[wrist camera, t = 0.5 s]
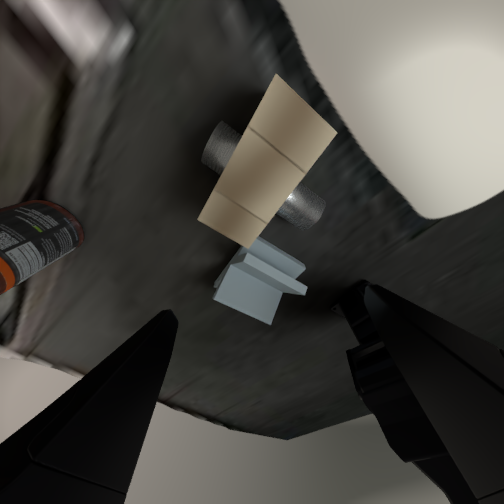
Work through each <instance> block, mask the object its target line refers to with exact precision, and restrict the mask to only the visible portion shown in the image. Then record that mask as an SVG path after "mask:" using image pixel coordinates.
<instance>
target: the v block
mask: <svg viewBox="0 0 504 504" xmlns="http://www.w3.org/2000/svg"><path fill="white" fill-rule="evenodd" d="M305 269H306V267H305V265H304V264H303V263H302V262H300V261H298V260H297V259H295V258H293V257H292V256H290V255H289V254H287V253H285V252H284V251H282V250H280V249H279V248H277V247H276V246H274V245H272V244H271V243H269V242H267V241H266V240H264V239H263V238H261V237H259V236H258V237H257V238H256V240H255V241H254V242H253V243H252V245H251V246H250V247H249V249H247V248H245V247H244V246H241V247H240V248H239V250H238V251H237V252H236V254H235V255H234V256H233V258H232V259H231V261H230V262H229V263H228V265H227V266H226V267H225V269H224V270H223V271H222V273H221V274H220V275H219V277H218V278H217V280H216V281H215V283H214V287H215V288H217V289H216V291H215V293H214V295H213V297H212V299H214V300H216V301H218V302H220V303H223V304H225V305H227V306H229V307H232V308H234V309H236V310H238V311H240V312H243V313H245V314H247V315H249V316H251V317H254V318H256V319H258V320H260V321H263V322H265V323H267V324H269V325H271V323H272V320H273V318H274V315H275V312H276V310H277V307H278V304H279V302H280V299H281V296H282V294H283V292H284V293H291V294H299V295H305V293H306V290H307V286H305V285H303V284H302V283H300V282H298V281H296V280H295V279H296V278H297V277H298V276H299V275H300V274H301V273H302V272H303V271H304V270H305Z"/></svg>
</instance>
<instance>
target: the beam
mask: <svg viewBox="0 0 504 504" xmlns="http://www.w3.org/2000/svg"><path fill="white" fill-rule="evenodd" d="M336 134H337V132H336V131H335V130H334V129H333V128H332V127H331V126H330V125H329V124H328V123H327V122H326V121H325V120H324V119H323V118H322V117H321V116H320V115H319V114H318V113H316V112H315V111H314V110H313V109H312V108H311V107H310V106H309V105H308V104H307V103H306V102H305V101H304V100H303V99H302V98H301V97H300V96H299V95H298V94H297V93H296V92H295V91H294V90H293V89H292V88H291V87H290V86H289V85H288V84H286V83H285V82H284V81H283V80H282V79H281V78H280V77H279V76H278V75H277V74H276V75H275V76H274V78H273V80H272V82H271V84H270V86H269V88H268V89H267V91H266V93H265V95H264V97H263V99H262V101H261V102H260V104H259V106H258V108H257V110H256V112H255V114H254V115H253V117H252V119H251V121H250V123H249V125H248V126H247V128H246V130H245V132H244V134H243V136H242V138H241V139H240V141H239V143H238V145H237V147H236V149H235V151H234V152H233V154H232V156H231V158H230V160H229V162H228V164H227V165H226V167H225V169H224V171H223V173H222V175H221V177H220V178H219V180H218V182H217V184H216V186H215V188H214V190H213V191H212V193H211V195H210V197H209V199H208V201H207V203H206V204H205V206H204V208H203V210H202V212H201V214H200V216H199V217H198V219H197V220H199V221H200V222H202V223H204V224H206V225H207V226H209V227H211V228H213V229H214V230H216V231H218V232H220V233H221V234H223V235H225V236H226V237H228V238H230V239H232V240H233V241H235V242H237V243H239V244H240V245H242V246H244V247H245V248H247V249H249V247H250V246H251V245H252V243H253V242H254V241H255V240H256V238H257V237H258V236H259V234H260V233H261V232H262V230H263V229H264V228H265V227H266V225H267V224H268V223H269V221H270V220H271V219H272V217H273V216H274V215H275V214H276V212H277V211H278V210H279V208H280V207H281V206H282V204H283V203H284V202H285V200H286V199H287V198H288V197H289V195H290V194H291V193H292V191H293V190H294V189H295V187H296V186H297V185H298V184H299V182H300V181H301V180H302V178H303V177H304V176H305V174H306V173H307V172H308V171H309V169H310V168H311V167H312V165H313V164H314V163H315V161H316V160H317V159H318V158H319V156H320V155H321V154H322V152H323V151H324V150H325V148H326V147H327V146H328V145H329V143H330V142H331V141H332V139H333V138H334V137H335V135H336Z"/></svg>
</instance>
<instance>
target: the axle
mask: <svg viewBox="0 0 504 504" xmlns="http://www.w3.org/2000/svg"><path fill="white" fill-rule="evenodd" d="M241 138H242V136H241V135H240V134H239V133H238V132H236V131H235V130H234V129H232V128H231V127H230V126H229V125H227V124H226V123H225V122H224V121H220V122H219V123H218V125H217V126H216V128H215V129H214V131H213V132H212V134H211V136H210V138H209V140H208V142H207V144H206V147H205V149H204V152H203V155H202V159H201V162H202V163H203V164H205V165H206V166H208V167H209V168H211V169H212V170H214V171H215V172H216V173H218V174H219V175H222V173H223V171H224V169H225V167H226V165H227V164H228V162H229V160H230V158H231V156H232V154H233V152H234V151H235V149H236V147H237V145H238V143H239V141H240V139H241ZM325 205H326V204H325V201H324V200H323V199H322V198H320V197H319V196H318V195H316V194H315V193H314V192H313V191H311V190H310V189H309V188H308V187H306V186H305V185H304V184H302V183H301V182H299V184H298V185H297V186H296V187H295V189H294V190H293V191H292V193H291V194H290V195H289V197H288V198H287V199H286V200H285V202H284V203H283V204H282V206H281V207H280V208H279V210H278V211H277V212H276V213H277V214H278V215H279V216H281V217H282V218H284V219H285V220H287V221H288V222H290V223H291V224H293V225H294V226H296V227H297V228H298V229H300V230H306V229H308V228H310V227H311V226H313V225H314V224H315V223H316V222H317V221H318V219H319V218H320V217H321V215H322V214H323V212H324V209H325Z"/></svg>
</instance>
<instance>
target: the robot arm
mask: <svg viewBox="0 0 504 504" xmlns="http://www.w3.org/2000/svg"><path fill="white" fill-rule="evenodd" d="M330 309H331V310H332V311H333V312H335V313H337V314H339V315H340V316H342V317H344V318H346V320H347V321H348V323H349V325H350V327H351V329H352V331H353V333H354V335H355V337H356V338H357V340H358V342H359V344H360V345H359V346H357V347H355V348H353V349H349V350H347V351H346V353H347V357H348V358H347V359H348V362H349V366H350V370H351V373H352V377H353V380H354V384H355V388H356V391H357V392H358V396H359V397H360V399H361V400H363V402H364V403H365V405H366V406H367V408H368V409H369V410H370V411H371V412H372V413H373V414H374V415H375V416H376V418H377V420H378V422H379V424H380V427H381V429H382V431H383V433H384V435H385V437H386V439H387V441H388V444H389V446H390V447H391V448H392V449H393V450H394V452H395V453H396V454H397V455H398V456H399V457H400V458H401V459H402V460H403V461H404V462H405V463H407V462H412V463H413V464H414V465H416V466H417V467H418V468H419V469H420V470H421V471H422V472H423V473H424V474H425V475H426V476H427V477H428V478H429V479H430V480H431V481H432V482H433V483H435V484H436V485H437V486H438V487H439V488H440V489H441V490H442V491H443V492H444V493H445V495H446V497H447V498H448V500H449V502H450V503H451V504H504V350H502V349H499V348H498V347H496V346H495V345H493V344H491V343H489V342H487V341H485V340H483V339H481V338H479V337H477V336H475V335H473V334H472V333H470V332H468V331H466V330H464V329H462V328H460V327H458V326H456V325H454V324H452V323H450V322H449V321H447V320H445V319H443V318H441V317H439V316H437V315H435V314H433V313H431V312H429V311H427V310H426V309H424V308H422V307H420V306H418V305H416V304H414V303H412V302H410V301H408V300H406V299H405V298H403V297H401V296H399V295H397V294H395V293H393V292H391V291H389V290H387V289H385V288H383V287H382V286H380V285H376V284H375V285H373V284H371V283H370V282H368V281H363V282H361V283H360V284H358V285H357V286H356V287H355V288H353V289H352V290H351V291H349V292H348V293H347V294H345V295H344V296H343V297H341V298H340V299H339V300H338V301H336V302H335V303H334V304H332V305H331V306H330ZM177 328H178V320H177V318H176V316H175V314H174V313H173V311H172V310H170V309H169V310H162V311H161V312H160V313H158V314H157V315H156V316H155V317H154V318H153V319H151V320H150V321H149V322H148V323H147V324H145V325H144V326H143V327H142V328H141V329H139V330H138V331H137V332H136V333H135V334H134V335H132V336H131V337H130V338H129V339H128V340H126V341H125V342H124V343H123V344H122V345H121V346H119V347H118V348H117V349H116V350H115V351H113V352H112V353H111V354H110V355H109V356H108V357H106V358H105V359H104V360H103V361H102V362H100V363H99V364H98V365H97V366H96V367H95V368H93V369H92V370H91V371H90V372H89V373H87V374H86V375H85V376H84V377H83V378H82V379H81V380H79V381H78V382H77V383H76V384H74V385H73V386H72V387H71V388H70V389H69V390H67V391H66V392H65V393H64V394H62V395H61V396H60V397H59V398H58V399H56V400H55V401H54V402H53V403H52V404H50V405H49V406H48V407H47V408H45V409H44V410H43V411H42V412H40V413H39V414H38V415H37V416H35V417H34V418H33V419H31V420H30V421H29V422H28V423H27V424H25V425H24V426H23V427H21V428H20V429H19V430H18V431H16V432H15V433H14V434H12V435H11V436H10V437H8V438H7V439H6V440H5V441H3V442H2V443H1V444H0V504H124V502H125V498H126V493H127V492H128V488H129V486H130V483H131V479H132V476H133V473H134V470H135V467H136V464H137V461H138V458H139V455H140V452H141V448H142V445H143V442H144V439H145V436H146V433H147V430H148V427H149V424H150V420H151V418H152V415H153V411H154V408H155V405H156V402H157V399H158V396H159V393H160V390H161V387H162V384H163V381H164V377H165V374H166V371H167V368H168V365H169V362H170V359H171V355H172V351H173V346H174V342H175V337H176V333H177Z"/></svg>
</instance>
